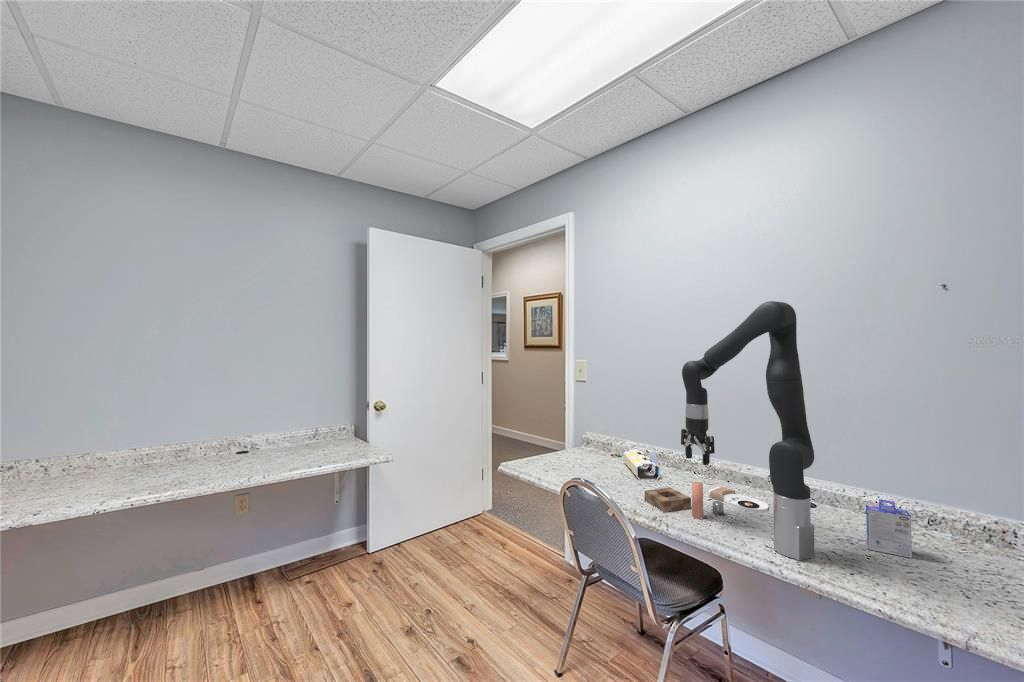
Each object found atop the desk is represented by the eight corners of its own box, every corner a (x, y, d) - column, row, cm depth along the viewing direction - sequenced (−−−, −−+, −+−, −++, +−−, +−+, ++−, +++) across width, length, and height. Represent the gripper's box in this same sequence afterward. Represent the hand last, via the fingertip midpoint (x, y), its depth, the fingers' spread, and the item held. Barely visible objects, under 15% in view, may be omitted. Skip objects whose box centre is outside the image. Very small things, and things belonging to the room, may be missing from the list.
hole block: (691, 508, 157) (690, 497, 157) (663, 512, 154) (663, 501, 154) (670, 497, 169) (670, 487, 169) (644, 500, 165) (644, 490, 165)
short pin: (725, 515, 151) (725, 504, 151) (717, 516, 150) (717, 505, 150) (718, 511, 154) (718, 500, 154) (710, 512, 153) (710, 501, 153)
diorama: (659, 480, 190) (659, 451, 190) (636, 480, 190) (636, 451, 190) (643, 464, 215) (643, 439, 215) (623, 464, 215) (623, 439, 215)
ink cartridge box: (908, 550, 124) (907, 502, 124) (913, 559, 120) (913, 508, 120) (865, 542, 130) (864, 496, 130) (868, 550, 125) (868, 501, 125)
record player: (722, 485, 174) (774, 500, 158) (722, 492, 174) (774, 508, 158) (706, 491, 167) (759, 507, 151) (706, 498, 167) (759, 516, 151)
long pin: (705, 518, 148) (705, 484, 148) (697, 519, 147) (696, 485, 147) (698, 514, 152) (697, 481, 152) (690, 515, 151) (689, 482, 151)
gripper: (720, 419, 144) (720, 466, 144) (691, 412, 157) (691, 455, 157) (702, 420, 142) (702, 468, 142) (674, 413, 155) (675, 456, 155)
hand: (697, 461), depth 150 cm, fingers open, 8 cm apart
